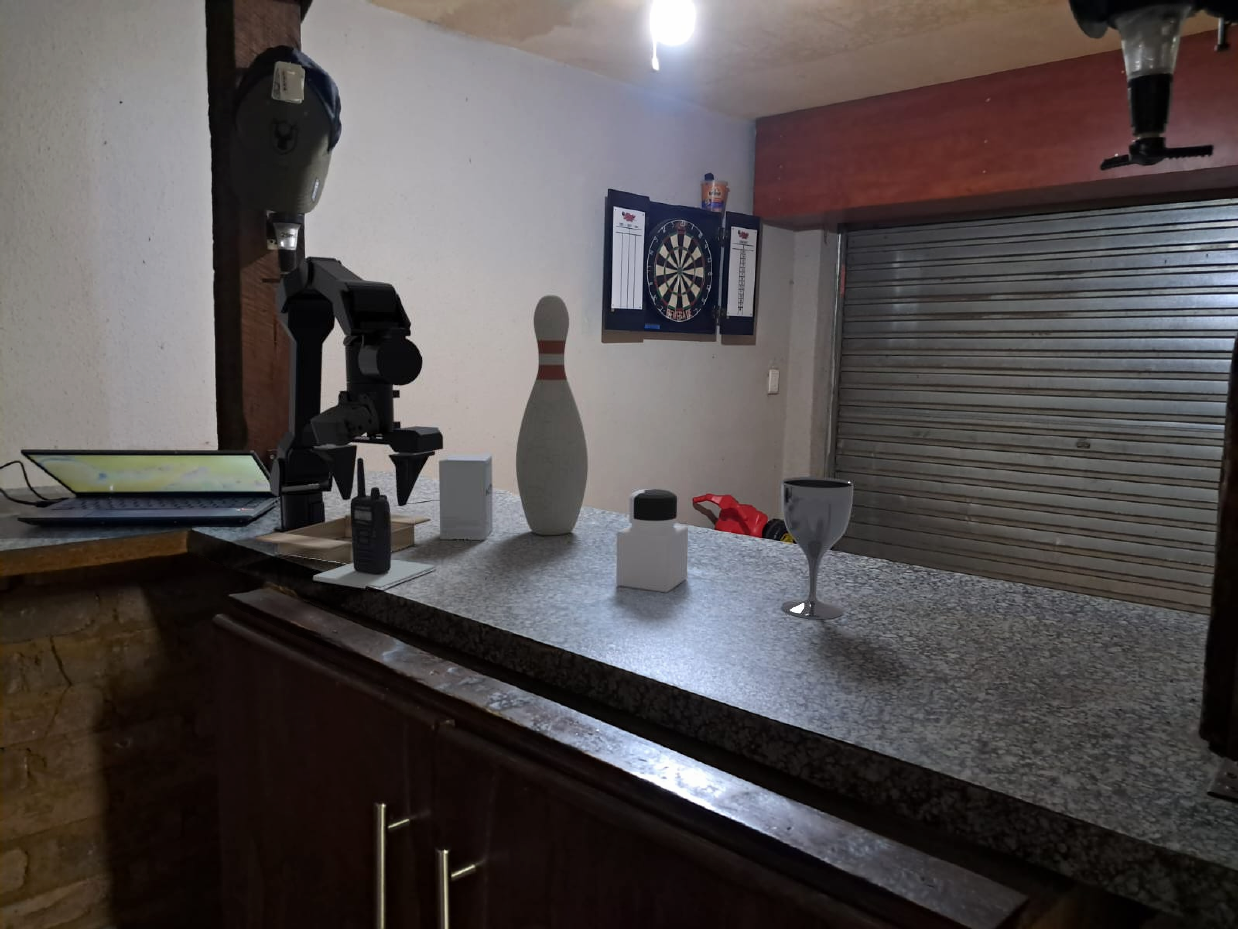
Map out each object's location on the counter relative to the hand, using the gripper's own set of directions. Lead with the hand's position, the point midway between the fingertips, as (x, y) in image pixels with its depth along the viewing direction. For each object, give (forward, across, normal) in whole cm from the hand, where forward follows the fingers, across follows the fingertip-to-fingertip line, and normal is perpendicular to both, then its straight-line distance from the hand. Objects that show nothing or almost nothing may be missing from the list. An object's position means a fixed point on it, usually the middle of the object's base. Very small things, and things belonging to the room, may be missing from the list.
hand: (373, 502), depth 109 cm
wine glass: (+10, +55, +11) cm, 57 cm away
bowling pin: (+10, +8, +33) cm, 35 cm away
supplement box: (+10, -3, +25) cm, 27 cm away
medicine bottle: (+10, +34, +13) cm, 38 cm away
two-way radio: (+9, 0, 0) cm, 9 cm away
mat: (+10, 0, 0) cm, 10 cm away
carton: (+10, -13, +9) cm, 19 cm away
